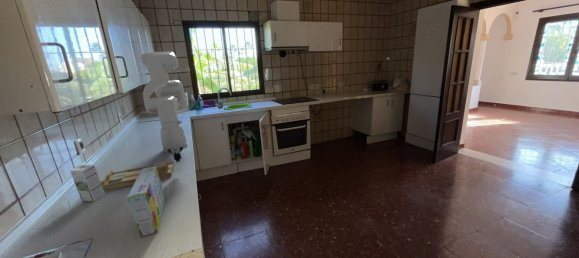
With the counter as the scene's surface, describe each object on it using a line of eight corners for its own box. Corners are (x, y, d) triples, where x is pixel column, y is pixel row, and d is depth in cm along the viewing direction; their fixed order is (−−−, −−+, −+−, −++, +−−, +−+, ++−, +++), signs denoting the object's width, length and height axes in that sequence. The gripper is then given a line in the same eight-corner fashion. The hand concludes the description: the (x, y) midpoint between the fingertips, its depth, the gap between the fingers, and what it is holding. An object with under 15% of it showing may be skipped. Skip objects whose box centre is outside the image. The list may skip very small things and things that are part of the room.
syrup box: (105, 194, 101) (95, 163, 97) (93, 202, 96) (82, 170, 91) (93, 194, 102) (83, 164, 98) (81, 202, 96) (69, 170, 92)
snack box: (150, 202, 93) (141, 168, 88) (166, 198, 95) (157, 164, 90) (139, 238, 74) (125, 196, 69) (158, 232, 76) (147, 192, 71)
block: (157, 171, 115) (155, 163, 114) (168, 168, 117) (166, 161, 116) (155, 175, 111) (153, 167, 110) (167, 173, 112) (165, 165, 111)
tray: (113, 177, 116) (110, 170, 115) (174, 165, 125) (172, 158, 124) (102, 191, 104) (99, 183, 103) (171, 177, 113) (169, 169, 111)
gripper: (187, 120, 115) (194, 155, 120) (153, 125, 111) (162, 161, 116) (186, 123, 108) (194, 160, 113) (150, 129, 104) (160, 167, 109)
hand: (178, 160), depth 115 cm, fingers closed
